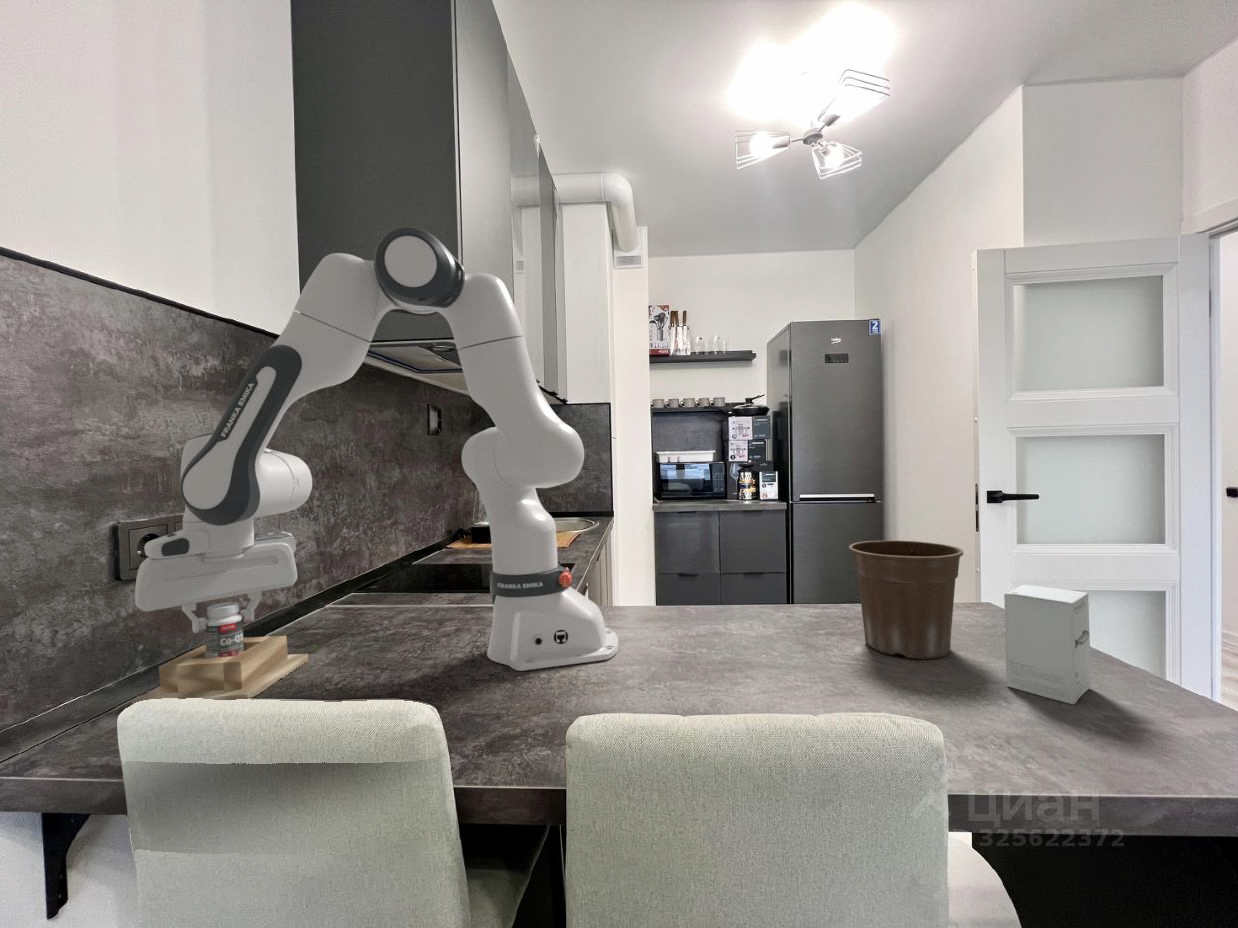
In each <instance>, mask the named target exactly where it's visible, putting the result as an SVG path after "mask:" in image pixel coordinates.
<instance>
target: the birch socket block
mask: <svg viewBox="0 0 1238 928" xmlns="http://www.w3.org/2000/svg"><path fill="white" fill-rule="evenodd" d="M287 639H288V638H287V635H272V636H254V637H252V636H251V637H243V646H244V652H242V653H240V654H238V655H236V656H233V657H216V658H206V643H205V644H203V645H201V646H198V647H197V648H195V649H193V650H191V651H188V652H186V653H184V654H182V655H180V656H178V657H176V658H172V660H169V661H167V662H166V663H162V664H161V665H158V673H159V686H158V687H157V688H155V689H153V690H151V691H149V692H147V693H145V694H144V695H142V696H139V697H138V698H135V699H134V700H132V701H131V705H132V704H134V703H136V702H139V701H143V700H149V699H162V698H178V699H186V698H203V699H213V700H236V699H253V700H254V699H255V698H250V697H253V696H255V695H257V694H259V693H260V692H262V691H264V690H266V689H267V688H268V687H270V686H271V685H272V684H274V683H275V682H276V681H278V680H279V679H280V678H283V677H284V678H286V677H287V676H289V675H290V674H291V673H290V672H292V671H293V670H295V669H296V668H297V669H299V668H300V667H302V666H303V665H305V664H306V663H308V662H309V661H308V660H309V653H297V654H295V653H294V654H288V640H287ZM305 662H306V663H305ZM304 663H305V664H304ZM302 664H303V665H302ZM301 665H302V666H301ZM299 666H300V667H299ZM298 667H299V668H298ZM297 669H296V670H297ZM296 670H295V671H296ZM293 672H294V671H293ZM293 672H292V673H293ZM289 673H290V674H289ZM288 674H289V675H288ZM286 675H287V676H286ZM285 676H286V677H285ZM284 678H283V679H284ZM274 685H275V684H274ZM270 688H271V687H270ZM267 690H268V689H267ZM267 690H266V691H267ZM264 692H265V691H264Z"/></svg>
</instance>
